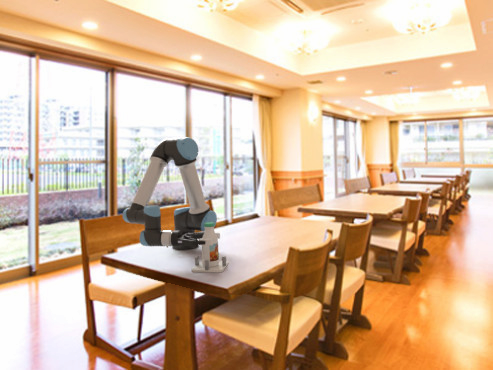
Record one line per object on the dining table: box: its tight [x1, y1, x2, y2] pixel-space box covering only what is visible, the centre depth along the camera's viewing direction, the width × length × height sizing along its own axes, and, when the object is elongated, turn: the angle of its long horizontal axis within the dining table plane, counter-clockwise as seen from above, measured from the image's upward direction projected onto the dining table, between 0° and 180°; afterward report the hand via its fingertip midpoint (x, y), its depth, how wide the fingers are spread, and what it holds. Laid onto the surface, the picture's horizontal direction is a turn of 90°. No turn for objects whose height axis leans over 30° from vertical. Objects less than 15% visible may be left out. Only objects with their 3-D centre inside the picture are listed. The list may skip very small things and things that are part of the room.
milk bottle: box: [201, 222, 220, 267], centre depth 163 cm, size 8×8×20 cm
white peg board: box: [191, 255, 229, 273], centre depth 163 cm, size 15×15×5 cm
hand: (216, 238), depth 162 cm, fingers open, 13 cm apart
